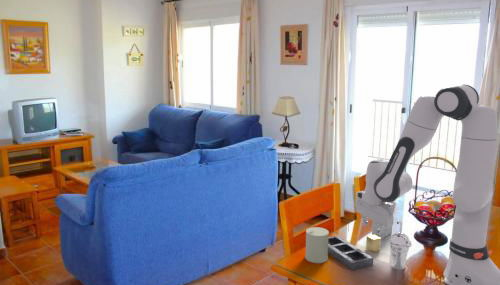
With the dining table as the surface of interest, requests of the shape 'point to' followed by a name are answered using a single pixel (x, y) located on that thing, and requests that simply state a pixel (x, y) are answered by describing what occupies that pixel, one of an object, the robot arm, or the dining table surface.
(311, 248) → the can
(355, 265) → the grey compartment tray
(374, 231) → the skincare box
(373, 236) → the pale yellow upright block
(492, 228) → the dining table surface
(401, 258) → the cup with straw
